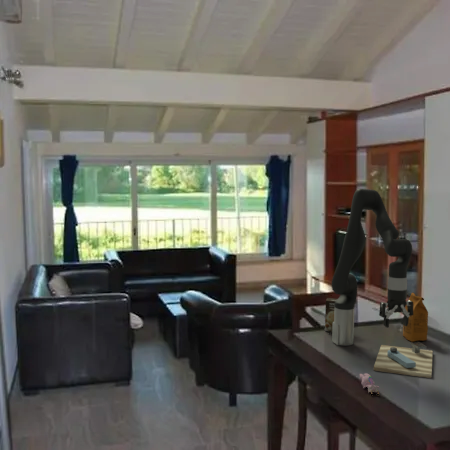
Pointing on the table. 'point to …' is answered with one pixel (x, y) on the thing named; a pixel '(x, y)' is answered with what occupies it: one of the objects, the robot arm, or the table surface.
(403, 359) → the link
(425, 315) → the coffee package
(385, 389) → the table surface
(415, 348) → the block
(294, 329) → the table surface
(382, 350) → the pivot board
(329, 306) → the coffee box
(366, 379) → the rabbit figure
